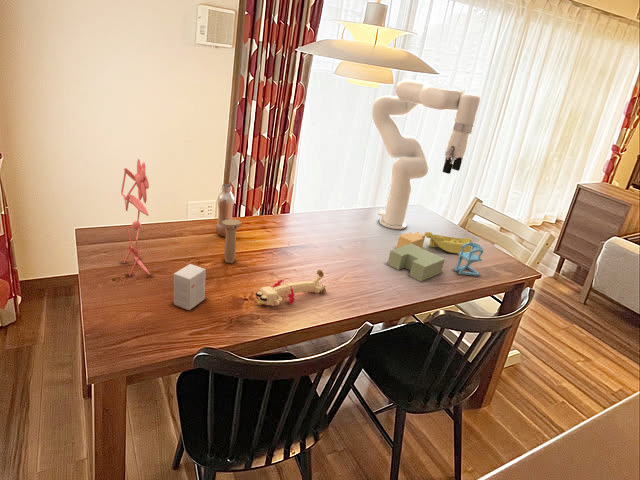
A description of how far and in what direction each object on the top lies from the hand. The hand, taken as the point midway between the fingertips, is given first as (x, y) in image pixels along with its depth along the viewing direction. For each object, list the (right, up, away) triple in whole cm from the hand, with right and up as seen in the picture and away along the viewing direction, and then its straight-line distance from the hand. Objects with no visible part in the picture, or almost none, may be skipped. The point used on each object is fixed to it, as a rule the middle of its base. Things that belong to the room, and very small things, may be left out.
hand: (450, 171), depth 194 cm
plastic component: (+1, -30, +15) cm, 34 cm away
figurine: (-109, -41, -37) cm, 123 cm away
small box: (-92, -52, -52) cm, 118 cm away
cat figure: (-63, -51, -42) cm, 91 cm away
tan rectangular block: (-15, -31, +8) cm, 35 cm away
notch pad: (-17, -40, -8) cm, 44 cm away
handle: (-85, -38, -26) cm, 97 cm away
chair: (+4, -41, -4) cm, 42 cm away
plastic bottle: (-91, -27, -6) cm, 95 cm away
